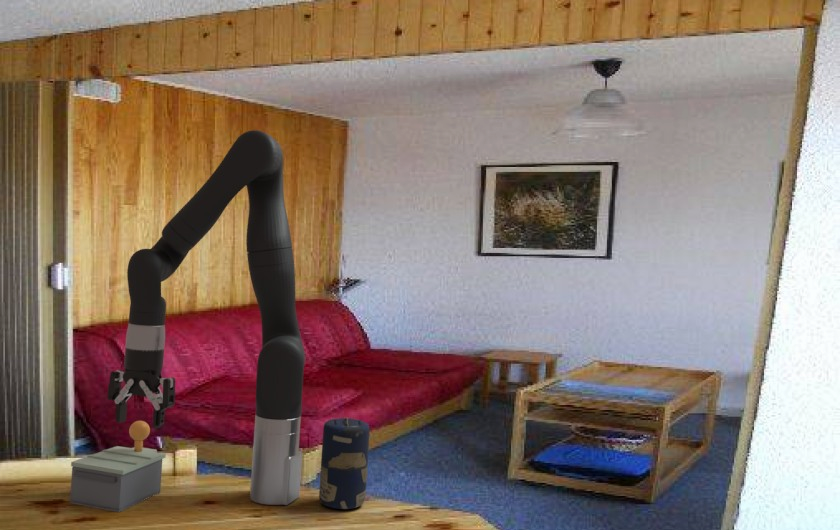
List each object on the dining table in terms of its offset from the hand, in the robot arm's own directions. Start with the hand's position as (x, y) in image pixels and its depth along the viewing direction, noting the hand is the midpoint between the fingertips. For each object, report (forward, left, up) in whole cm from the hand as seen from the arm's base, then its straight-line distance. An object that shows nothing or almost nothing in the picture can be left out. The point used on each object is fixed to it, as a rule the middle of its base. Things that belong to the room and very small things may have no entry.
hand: (138, 424), depth 159 cm
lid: (0, +5, -6) cm, 8 cm away
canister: (-41, -11, -14) cm, 45 cm away
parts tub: (0, +6, -13) cm, 15 cm away
